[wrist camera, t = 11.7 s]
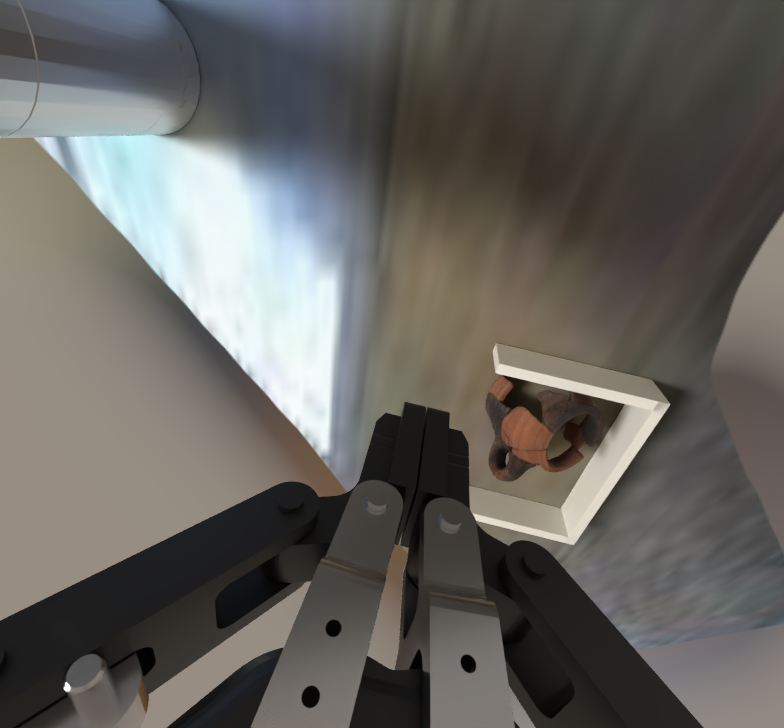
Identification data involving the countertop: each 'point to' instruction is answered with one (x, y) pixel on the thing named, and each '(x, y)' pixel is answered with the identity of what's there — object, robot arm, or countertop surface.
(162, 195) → the countertop surface
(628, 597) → the countertop surface
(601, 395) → the box
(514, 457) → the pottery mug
